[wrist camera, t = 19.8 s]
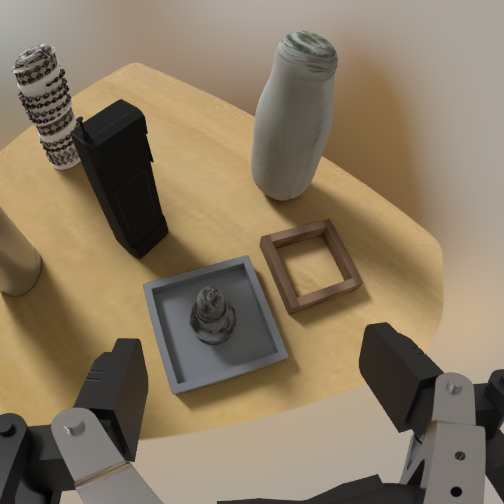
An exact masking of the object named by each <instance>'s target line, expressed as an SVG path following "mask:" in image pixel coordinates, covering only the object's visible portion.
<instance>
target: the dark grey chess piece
mask: <svg viewBox="0 0 504 504" xmlns="http://www.w3.org/2000/svg"><path fill="white" fill-rule="evenodd" d="M188 320H189V325H190V328H191V330H192V331H193V333H194V334H195V335H196V336H197V338H198V339H199V340H200V341H201V342H203V343H205V344H207V345H219V344H222V343H224V342H225V341H227V340H228V339H229V338H230V337H231V334H232V332H233V331H234V329H235V327H236V323H237V315H236V311H235V309H234V307H233V306H232V304H231V303H230V302H229V301H227V300H226V299H225V297H224V294H223V293H222V291H221V290H220V289H219V288H217V287H213V286H208V287H205V288H204V289H202V290H201V291H200V293H199V294H198V297H197V301H196V302H195V303H194V304H193V305H192V307H191V309H190V312H189V316H188Z"/></svg>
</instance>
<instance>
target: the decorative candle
mask: <svg viewBox="0 0 504 504" xmlns="http://www.w3.org/2000/svg"><path fill="white" fill-rule="evenodd" d="M12 72H13V73H15V75H16V79H17V80H18V87H19V93H18V95H19V98H20V100H21V101H22V105H23V106H24V107H25V110H26V113H27V114H28V115H29V120H31V122H32V123H33V125H34V126H36V127H37V130H38V134H39V136H40V140H41V141H40V143H41V144H43V149H45V151H46V156H48V157H49V158H48V159H49V161H50V162H51V164H52V166H53V167H54V168H55V169H58V170H64V169H69V168H71V167H73V166H75V165H76V164H78V163H79V162H80V161H81V160H80V158H79V155H78V153H77V150H76V148H75V145H74V143H73V140H72V138H71V135H70V132H71V131H72V130H74V129H75V128H77V127H78V126H79V122H77V121H76V120H77V119H76V117H75V114H74V113H73V112H72V109H71V105H72V101H71V96H70V95H69V94H67V92H68V91H69V88H68V86H66V83H67V80H66V79H65V78H62V77H63V76H64V74H65V71H64V69H60V65H59V63H58V62H57V60H56V56H55V48H54V47H49V46H48V45H46V44H40V45H36V46H34V47H32V48H30V49H28V50H26V51H25V52H23V53H22V54H21V55H20V56H19V57H18V58H17V60H16V63H15V66H14V67H13V69H12ZM22 93H23V95H22ZM25 102H27V103H25Z"/></svg>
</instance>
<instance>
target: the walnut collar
mask: <svg viewBox="0 0 504 504" xmlns="http://www.w3.org/2000/svg"><path fill="white" fill-rule="evenodd" d="M321 235H322V236H323V238H324V240H325V242H326V244H327V246H328V248H329V250H330V252H331V254H332V256H333V258H334V260H335V262H336V264H337V266H338V268H339V270H340V272H341V274H342V276H343V278H344V280H345V281H343V282H341V283H338V284H335V285H332V286H330V287H327V288H324V289H321V290H318V291H315V292H312V293H310V294H307V295H304V296H301V297H298V298H297V297H296V295H295V292H294V290H293V288H292V285H291V283H290V281H289V278H288V276H287V274H286V272H285V269H284V267H283V265H282V262H281V260H280V258H279V256H278V253H277V251H276V249H275V248H278V247H282V246H285V245H289V244H293V243H296V242H300V241H303V240H307V239H310V238H314V237H317V236H321ZM260 247H261V250H262V252H263V255H264V257H265V259H266V262H267V264H268V267H269V269H270V271H271V274H272V276H273V278H274V281H275V283H276V286H277V288H278V290H279V293H280V295H281V298H282V300H283V302H284V305H285V307H286V310H287V312H288V314H291V313H294V312H297V311H300V310H303V309H305V308H308V307H311V306H314V305H316V304H319V303H322V302H325V301H327V300H330V299H333V298H335V297H338V296H341V295H343V294H346V293H349V292H351V291H354V290H356V289H358V288H359V287H360V285H361V284H362V283H363V282H362V280H361V278H360V276H359V274H358V272H357V270H356V268H355V266H354V264H353V262H352V260H351V258H350V256H349V254H348V252H347V250H346V248H345V247H344V245H343V243H342V241H341V239H340V237H339V235H338V233H337V232H336V230H335V228H334V226H333V224H332V222H331V220H330V219H326V220H323V221H319V222H315V223H311V224H307V225H304V226H300V227H296V228H292V229H288V230H285V231H281V232H277V233H273V234H269V235H266V236H262V237H261V241H260Z"/></svg>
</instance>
